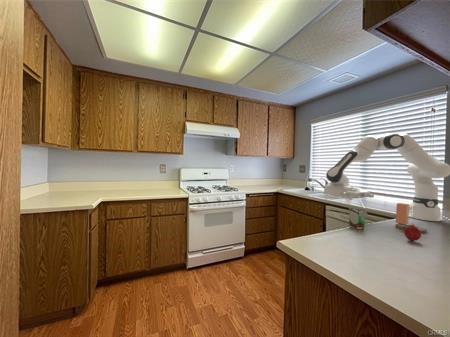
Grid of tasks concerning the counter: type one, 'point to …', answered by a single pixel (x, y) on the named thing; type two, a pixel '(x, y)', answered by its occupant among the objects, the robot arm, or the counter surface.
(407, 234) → the onion
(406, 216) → the orange rectangular block
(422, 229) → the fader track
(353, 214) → the food container
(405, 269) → the counter surface
